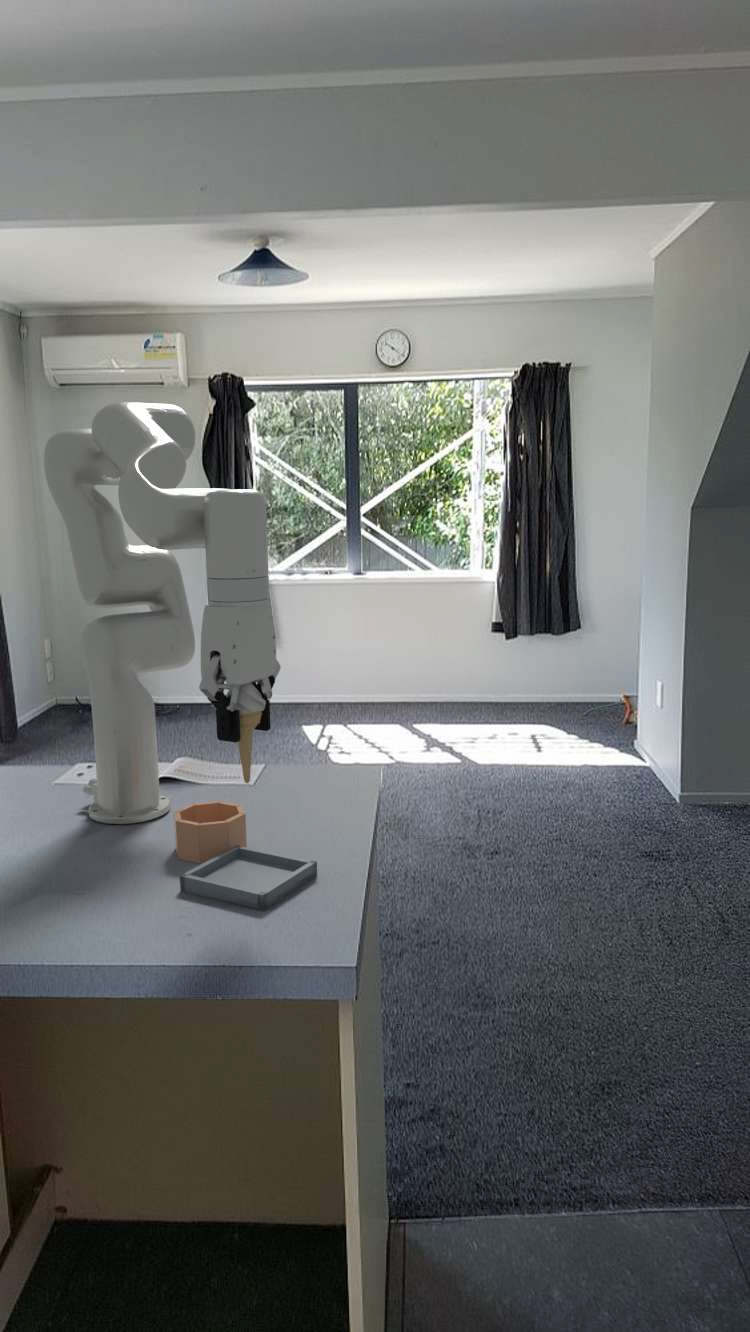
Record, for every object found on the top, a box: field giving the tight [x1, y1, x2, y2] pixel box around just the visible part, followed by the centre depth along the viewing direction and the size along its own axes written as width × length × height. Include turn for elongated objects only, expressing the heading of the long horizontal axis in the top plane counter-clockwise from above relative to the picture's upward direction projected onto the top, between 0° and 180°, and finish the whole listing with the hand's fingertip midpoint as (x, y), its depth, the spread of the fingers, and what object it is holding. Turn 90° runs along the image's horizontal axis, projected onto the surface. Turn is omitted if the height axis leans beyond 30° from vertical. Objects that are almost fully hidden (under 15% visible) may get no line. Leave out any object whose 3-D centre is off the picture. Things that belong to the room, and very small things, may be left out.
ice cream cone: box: [225, 683, 266, 784], centre depth 120 cm, size 6×6×15 cm
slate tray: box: [179, 845, 318, 912], centre depth 124 cm, size 13×12×2 cm
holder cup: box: [173, 800, 248, 865], centre depth 135 cm, size 10×10×6 cm
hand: (244, 733), depth 120 cm, fingers closed on ice cream cone, 5 cm apart
